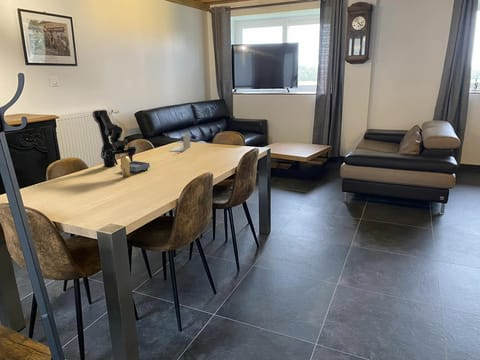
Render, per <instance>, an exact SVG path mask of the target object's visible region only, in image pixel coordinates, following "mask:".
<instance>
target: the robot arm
mask: <svg viewBox="0 0 480 360" xmlns="http://www.w3.org/2000/svg"><path fill="white" fill-rule="evenodd" d="M91 115H92V118H93V119H94V122H95V123H96V124H97V125H98V129H99V133H100V138H101V142H102V146H101V152H100V158H101V159H102V160H103V165H102V168H112V167H115V166H118V161H117V158H116V155H122V154H128V157H129V162H133V161H134V160H133V157H134V155H136V151H137V148H136V146H134V145H133V146H128V148H127V149H126V146H127V145H128V144H129V141H128V139H127V138H126V139H125V138H124V139H122V140H121V138H122V134H123V128H122V127H121V126H119V125H118V124H114V123H113V122H112V121H111V118H110V116H109V114H108V111H107V109H101V110H100V109H97V110H93V112H92V114H91Z"/></svg>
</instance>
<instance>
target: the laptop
mask: <svg viewBox="0 0 480 360" xmlns="http://www.w3.org/2000/svg"><path fill="white" fill-rule="evenodd" d="M182 141H183V143H182V145H183V146H178V145H177V146H175V147H173V148H172V149H170V150H169V151H170V152H179V153H180V152H186V151H187V150H189V149H190V148H191V138H190V132H188V133H186V134H184V135H182Z"/></svg>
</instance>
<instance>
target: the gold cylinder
mask: <svg viewBox="0 0 480 360" xmlns="http://www.w3.org/2000/svg"><path fill="white" fill-rule="evenodd" d="M129 162H130V158H129V155H128V156H127V155H123V156H120V165H121V166H120V169H121V168H122V169H121V173H122V174H121V175H122V178H124V179H128V178H131V171H130V166H129Z"/></svg>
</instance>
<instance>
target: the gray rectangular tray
mask: <svg viewBox="0 0 480 360" xmlns="http://www.w3.org/2000/svg"><path fill="white" fill-rule="evenodd" d="M119 165H120V170H122V168H121V164H119ZM129 166H130V172H133V173H134V174H138V173H139V171H142V170H145V171H146V170H149V168H150V167H151V166H150V162H144V161H139V160H138V161H137V160H133V162H131V161H129Z"/></svg>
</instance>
